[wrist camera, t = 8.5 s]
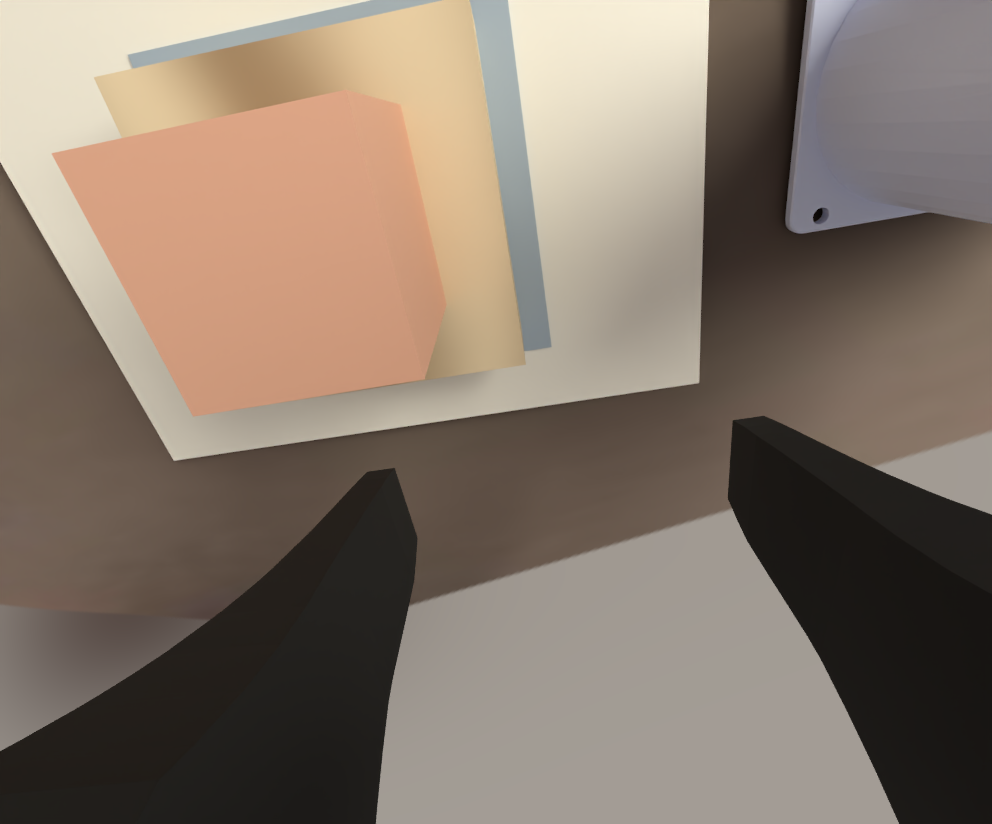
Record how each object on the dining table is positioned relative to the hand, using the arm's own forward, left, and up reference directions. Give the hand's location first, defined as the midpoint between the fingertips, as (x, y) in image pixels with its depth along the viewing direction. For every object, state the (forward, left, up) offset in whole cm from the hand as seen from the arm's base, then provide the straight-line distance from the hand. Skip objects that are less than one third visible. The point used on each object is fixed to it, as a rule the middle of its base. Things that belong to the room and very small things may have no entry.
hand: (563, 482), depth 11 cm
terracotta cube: (+5, -5, -5) cm, 9 cm away
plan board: (+5, -5, -10) cm, 12 cm away
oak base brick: (+5, -5, -9) cm, 11 cm away
